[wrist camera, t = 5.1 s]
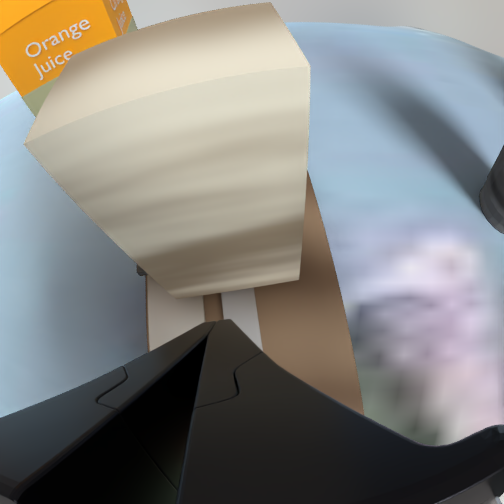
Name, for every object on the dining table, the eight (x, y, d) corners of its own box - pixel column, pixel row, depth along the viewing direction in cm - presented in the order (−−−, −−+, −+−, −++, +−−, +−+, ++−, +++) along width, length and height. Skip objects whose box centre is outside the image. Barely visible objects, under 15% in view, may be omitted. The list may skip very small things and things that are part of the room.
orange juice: (83, 113, 27) (3, -34, 9) (159, 84, 27) (98, -86, 9) (70, 165, 24) (-44, -8, 6) (159, 132, 24) (70, -87, 6)
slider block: (298, 280, 15) (310, 66, 5) (140, 304, 15) (-26, 172, 5) (284, 210, 17) (270, 2, 6) (141, 236, 17) (24, 81, 7)
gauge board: (362, 448, 13) (371, 455, 11) (172, 470, 13) (159, 478, 12) (296, 151, 21) (296, 132, 19) (157, 177, 21) (148, 160, 20)
